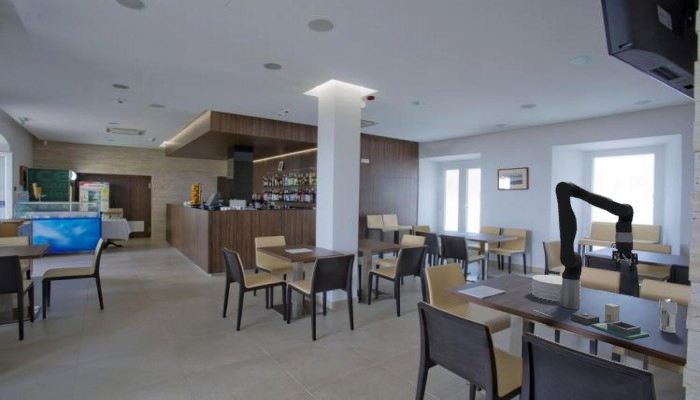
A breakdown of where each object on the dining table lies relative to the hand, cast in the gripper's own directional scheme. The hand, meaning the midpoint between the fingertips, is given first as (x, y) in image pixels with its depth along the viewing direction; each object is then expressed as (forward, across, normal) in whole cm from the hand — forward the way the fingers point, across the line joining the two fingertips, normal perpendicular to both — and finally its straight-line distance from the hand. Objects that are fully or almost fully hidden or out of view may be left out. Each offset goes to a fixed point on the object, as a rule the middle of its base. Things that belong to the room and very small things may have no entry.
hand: (625, 271), depth 192 cm
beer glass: (+27, +15, +8) cm, 32 cm away
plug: (+26, +1, -9) cm, 28 cm away
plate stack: (+25, -47, -8) cm, 54 cm away
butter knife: (+26, -7, -36) cm, 45 cm away
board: (+26, +14, -16) cm, 34 cm away
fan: (+26, -1, -22) cm, 34 cm away
